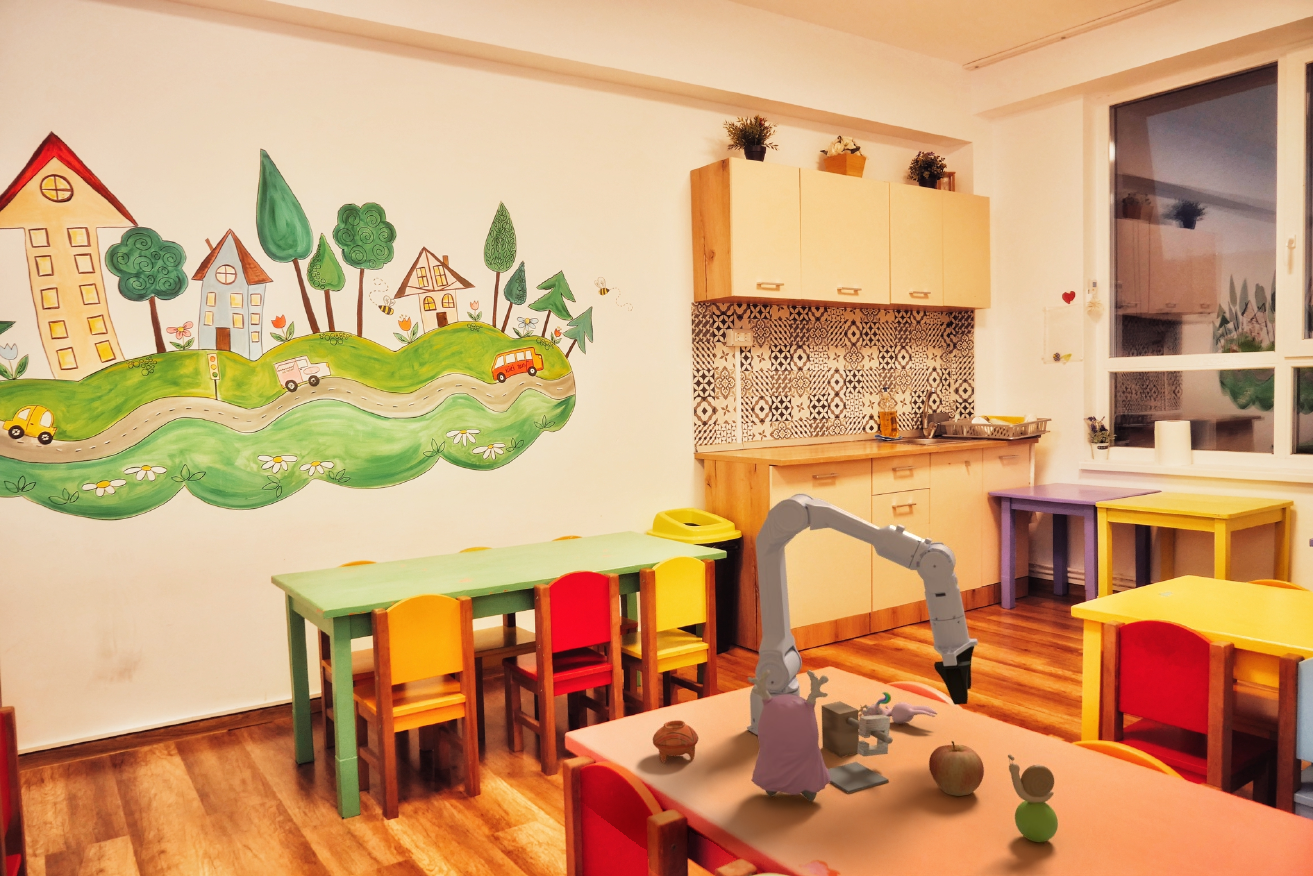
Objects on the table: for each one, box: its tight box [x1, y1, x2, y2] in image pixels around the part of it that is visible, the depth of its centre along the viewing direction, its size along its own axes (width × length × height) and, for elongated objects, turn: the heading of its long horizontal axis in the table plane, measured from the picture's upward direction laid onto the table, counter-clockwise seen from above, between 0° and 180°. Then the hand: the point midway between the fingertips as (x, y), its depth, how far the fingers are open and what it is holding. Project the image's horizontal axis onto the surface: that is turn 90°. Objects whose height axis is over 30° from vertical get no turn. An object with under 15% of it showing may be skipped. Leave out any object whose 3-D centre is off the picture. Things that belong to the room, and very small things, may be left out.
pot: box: [652, 720, 699, 763], centre depth 154 cm, size 8×8×7 cm
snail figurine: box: [1007, 753, 1059, 843], centre depth 122 cm, size 5×6×12 cm
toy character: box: [747, 669, 831, 802], centre depth 137 cm, size 12×10×20 cm
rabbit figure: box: [858, 691, 938, 725], centre depth 166 cm, size 6×6×15 cm
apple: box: [928, 740, 985, 797], centre depth 137 cm, size 8×8×8 cm
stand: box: [821, 701, 893, 758], centre depth 150 cm, size 16×4×8 cm, turn 26°
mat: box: [827, 761, 889, 794], centre depth 143 cm, size 8×8×1 cm
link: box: [856, 715, 891, 757], centre depth 146 cm, size 2×5×6 cm, turn 117°
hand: (962, 696), depth 149 cm, fingers open, 7 cm apart
